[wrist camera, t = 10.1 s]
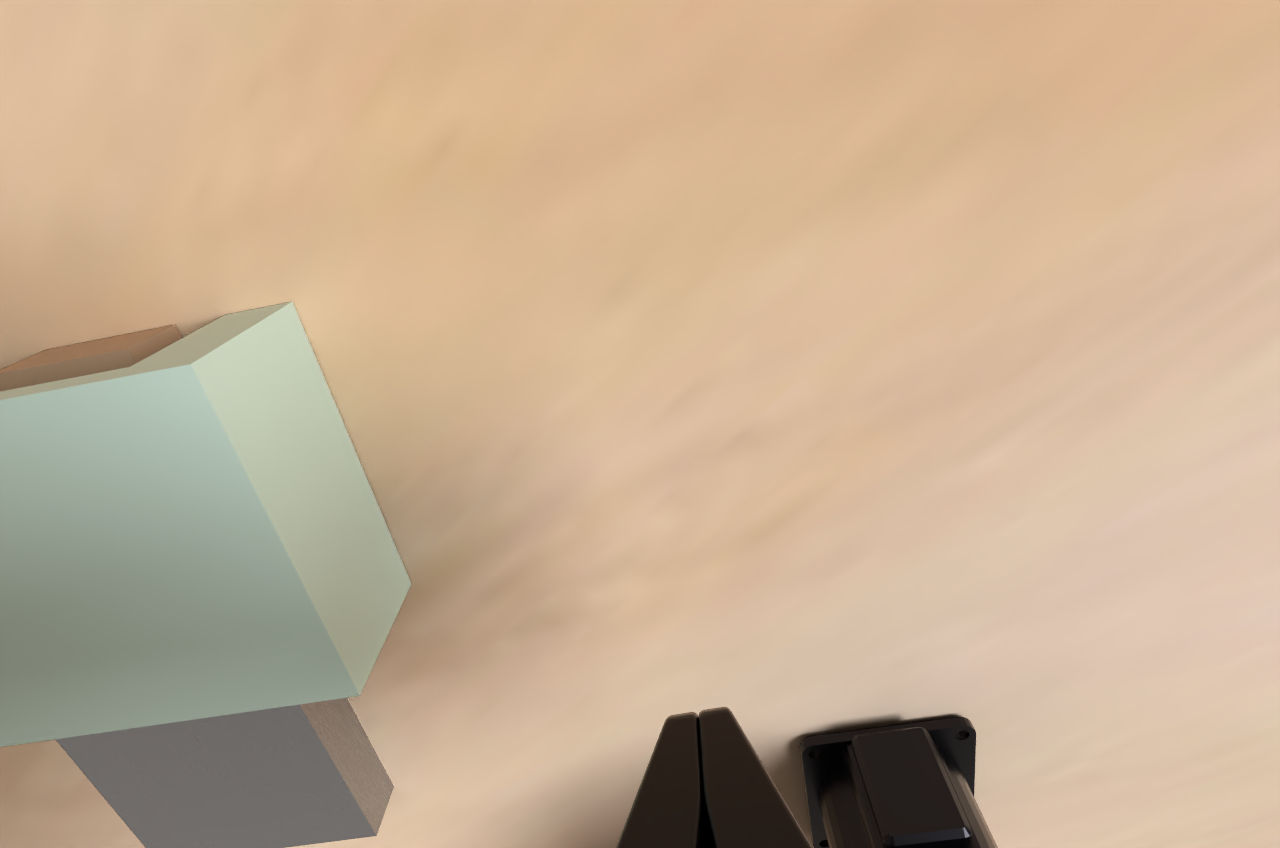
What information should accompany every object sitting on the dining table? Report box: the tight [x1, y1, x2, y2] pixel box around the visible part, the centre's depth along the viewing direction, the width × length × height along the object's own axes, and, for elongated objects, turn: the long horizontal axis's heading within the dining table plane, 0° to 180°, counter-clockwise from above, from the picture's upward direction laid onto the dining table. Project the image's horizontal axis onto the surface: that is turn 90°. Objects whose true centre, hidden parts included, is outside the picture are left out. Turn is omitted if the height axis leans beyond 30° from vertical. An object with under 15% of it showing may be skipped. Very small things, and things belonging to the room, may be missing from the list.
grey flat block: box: [56, 698, 394, 848], centre depth 24 cm, size 18×9×2 cm, turn 11°
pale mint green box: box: [0, 302, 411, 747], centre depth 20 cm, size 10×17×5 cm, turn 101°
